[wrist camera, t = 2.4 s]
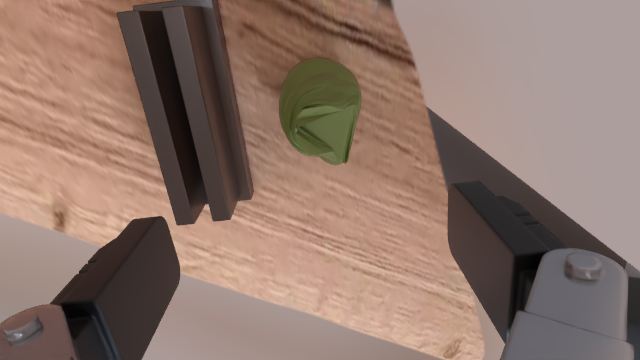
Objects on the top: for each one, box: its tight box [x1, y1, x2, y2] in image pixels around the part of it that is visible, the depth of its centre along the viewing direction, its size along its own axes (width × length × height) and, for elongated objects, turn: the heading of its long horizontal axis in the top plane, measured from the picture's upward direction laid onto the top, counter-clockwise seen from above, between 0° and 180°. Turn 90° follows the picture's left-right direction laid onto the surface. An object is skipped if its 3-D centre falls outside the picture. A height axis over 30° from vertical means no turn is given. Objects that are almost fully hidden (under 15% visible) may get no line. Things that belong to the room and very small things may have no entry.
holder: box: [117, 0, 254, 225], centre depth 26 cm, size 5×14×6 cm, turn 6°
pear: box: [279, 58, 361, 165], centre depth 23 cm, size 6×5×10 cm
